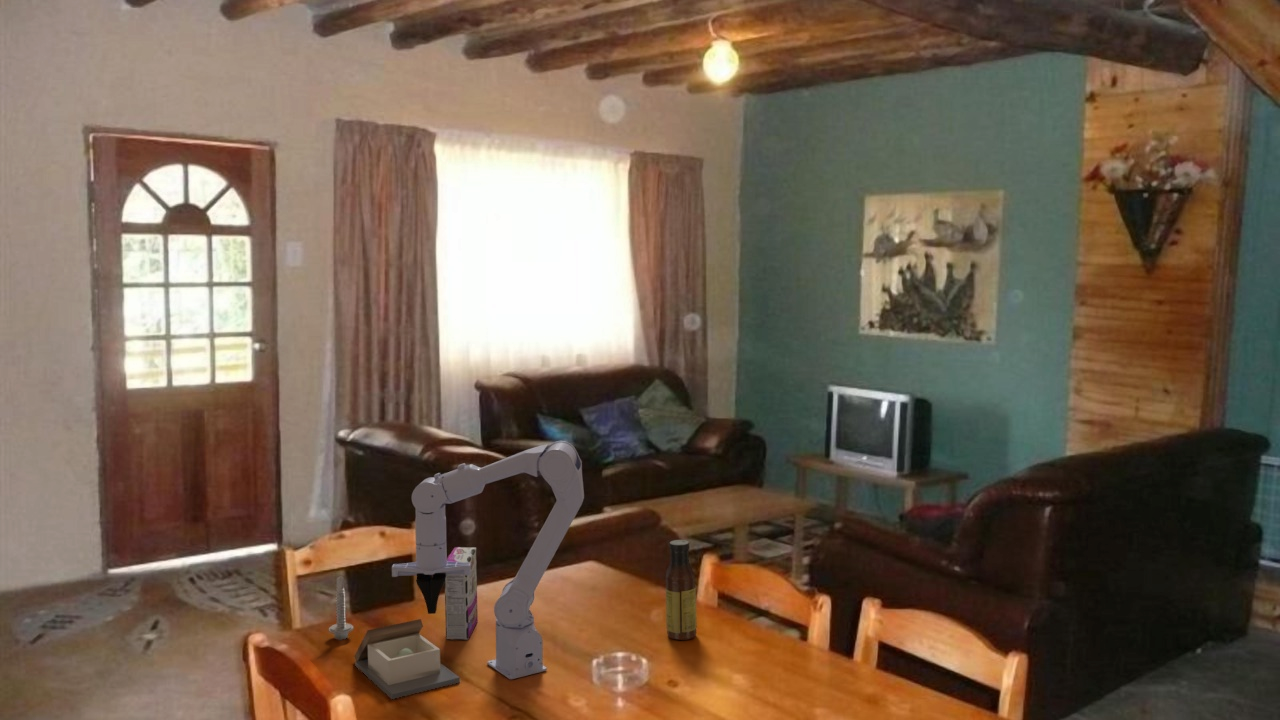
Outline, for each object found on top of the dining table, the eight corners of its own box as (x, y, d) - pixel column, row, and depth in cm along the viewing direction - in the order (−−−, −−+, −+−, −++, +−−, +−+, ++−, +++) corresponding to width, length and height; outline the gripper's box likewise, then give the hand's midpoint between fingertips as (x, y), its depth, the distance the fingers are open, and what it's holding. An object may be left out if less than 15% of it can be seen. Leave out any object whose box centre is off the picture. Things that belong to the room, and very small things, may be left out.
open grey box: (440, 672, 195) (440, 649, 194) (388, 685, 189) (388, 660, 188) (418, 655, 203) (417, 633, 202) (368, 667, 197) (367, 643, 196)
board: (459, 682, 193) (459, 677, 192) (392, 699, 185) (392, 694, 185) (419, 652, 207) (419, 647, 207) (355, 666, 200) (355, 661, 200)
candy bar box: (454, 621, 225) (454, 546, 223) (478, 621, 224) (477, 546, 223) (443, 640, 213) (443, 561, 212) (468, 641, 213) (467, 562, 212)
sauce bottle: (697, 631, 220) (698, 538, 218) (695, 642, 214) (697, 546, 212) (666, 629, 220) (667, 537, 218) (663, 640, 214) (664, 545, 212)
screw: (354, 633, 217) (352, 641, 212) (330, 634, 216) (327, 642, 212) (353, 571, 216) (350, 579, 211) (329, 572, 215) (325, 580, 210)
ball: (416, 665, 196) (415, 649, 196) (400, 668, 194) (400, 652, 194) (409, 660, 198) (409, 644, 198) (394, 663, 197) (394, 647, 196)
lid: (423, 626, 201) (419, 614, 202) (369, 637, 195) (366, 625, 196) (408, 651, 207) (404, 639, 209) (356, 663, 201) (353, 651, 203)
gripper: (388, 548, 194) (390, 620, 195) (468, 547, 195) (469, 618, 196) (394, 538, 201) (395, 607, 202) (471, 537, 202) (472, 605, 203)
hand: (432, 612), depth 200 cm, fingers closed
